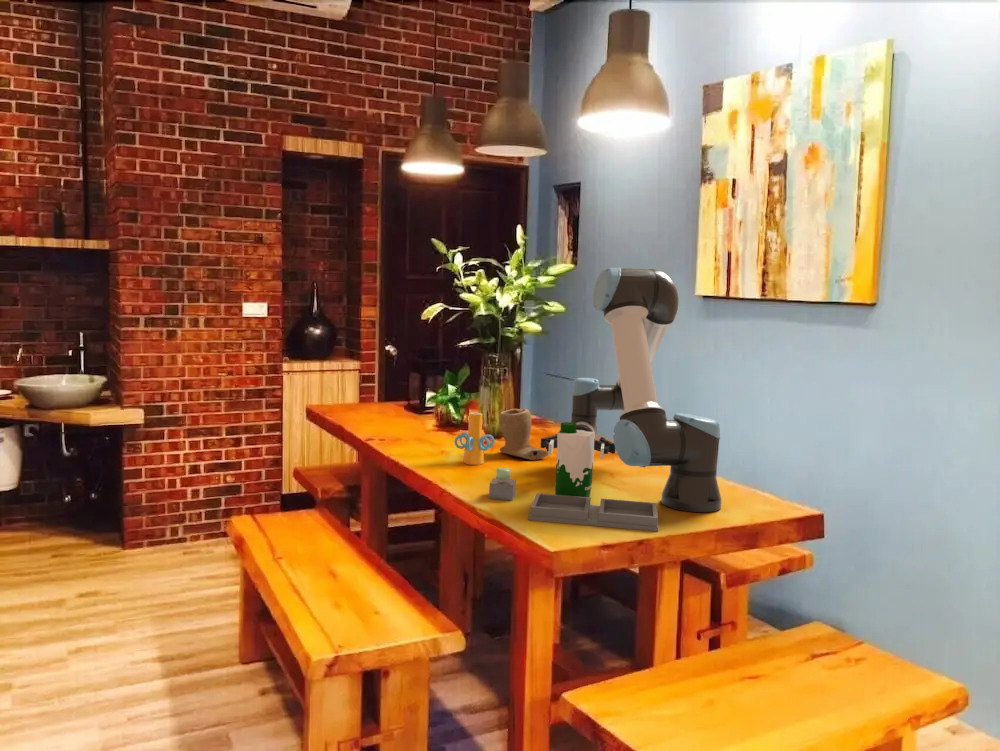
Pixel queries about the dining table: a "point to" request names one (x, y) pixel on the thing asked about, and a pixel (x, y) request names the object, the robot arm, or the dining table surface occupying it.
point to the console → (502, 489)
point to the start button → (503, 474)
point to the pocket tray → (594, 512)
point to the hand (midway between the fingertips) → (575, 451)
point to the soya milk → (574, 461)
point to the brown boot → (518, 434)
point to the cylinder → (474, 441)
